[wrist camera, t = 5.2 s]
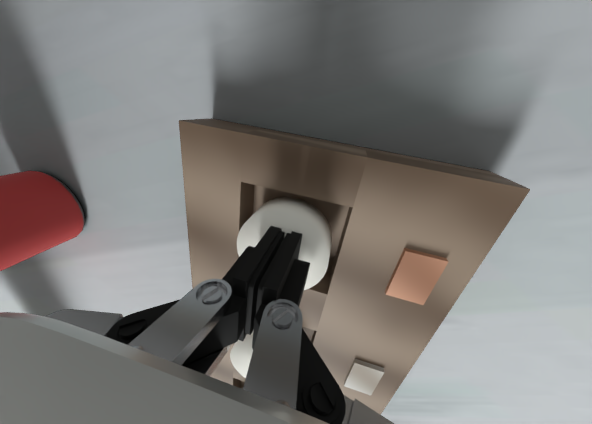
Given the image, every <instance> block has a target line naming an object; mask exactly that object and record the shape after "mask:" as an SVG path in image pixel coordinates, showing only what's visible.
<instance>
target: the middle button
mask: <svg viewBox="0 0 592 424" xmlns="http://www.w3.org/2000/svg"><path fill="white" fill-rule="evenodd" d="M253 330H254V329H253ZM252 340H253V332H252V333H251V335H249V334H247V335H246V337H245V339H244V341H240V340H238V341H237V342H236V343H235V344H234V346H233V348H232V350H231V352H230V359H231V362H232V364H233V366H234V368H235V369H236V370H237V371H238V372H239V373H240V374H241V375H242V376H243V377H244V378H246V375H247V372H248V368H249V364H250V360H251V357H252V353H253V349H252Z"/></svg>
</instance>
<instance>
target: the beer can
mask: <svg viewBox="0 0 592 424" xmlns="http://www.w3.org/2000/svg"><path fill="white" fill-rule="evenodd" d="M84 223H85V219H84V212H83V210H82V207H81V205H80V203H79V201H78V200H77V198H76V197H75V195H74V194H73V193H72V192H71V191H70V190H69V189H68V187H67V186H66V185H64V184H63V183H62V182H60V181H59V180H58V179H56V178H54V177H52V176H50V175H48V174H46V173H43V172H37V171H25V172H19V173H14V174H8V175H3V176H0V271H2V270H4V269H6V268H8V267H10V266H13V265H15V264H17V263H19V262H21V261H24V260H26V259H28V258H30V257H32V256H35V255H37V254H39V253H41V252H43V251H46V250H48V249H50V248H52V247H54V246H57V245H59V244H61V243H63V242H65V241H68V240H70V239H72V238H74V237H76V236H77V235H78V234H79V233H80V232H81V231H82V230H83V227H84Z"/></svg>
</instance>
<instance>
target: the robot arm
mask: <svg viewBox="0 0 592 424" xmlns="http://www.w3.org/2000/svg"><path fill="white" fill-rule="evenodd" d="M284 234H285V232H282V229H281V228H278V227H274V226H270V227H269V229H268V230H267V231H266V233H265V234H264V236H263V237H262V238H261V240H260V241H259V242H258V244H257V245H256V246H255V247H252V246H248V247H247V248H246V249H245V250H244V252H243V253H242V254H241V256H240V257H239V258H238V259H237V261H236V262H235V263H234V264H233V266H232V267H231V268H230V270H229V271H228V272H227V273H226V275H225V276H224V277H223V278H222V280H221V279H208V280H205V281H203V282H201V283H199V284H198V285H197V286H195V287H194V288H193V289H192V290H191V291H190V292H188V293H187V294H186V295H185V296H184V297H183V298H182V299H180V300H177V301H174V302H170V303H167V304H163V305H160V306H157V307H153V308H150V309H146V310H143V311H140V312H136V313H133V314H130V315H128V316H126V317H123V316H122V314H116V313H106V312H95V311H85V310H74V309H66V310H60V311H57V312H53V313H51V314H49V315H47V316H40V315H35V314H28V313H12V312H3V313H0V424H394V423H392V422H391V421H389V420H388V419H386V418H385V417H383V416H382V415H380V414H378V413H377V412H375V411H374V410H372V409H371V408H369V407H368V406H366V405H365V404H363V403H361V402H360V401H358V400H357V399H354V401H353V400H351V399H350V398H348V397H347V396H345V395H344V394H343V393H342V391H341V389H340V387H339V385H338V383H337V382H336V380H335V379H334V377H333V376H332V374H331V372H330V371H329V369H328V368H327V366H326V364H325V363H324V361H323V360H322V358H321V357H320V355H319V353H318V352H317V350H316V349H315V347H314V346H313V344H312V342H311V341H310V339H309V338H308V336H307V335H306V333H305V331H304V330H303V328H302V321H303V317H302V312H301V310H300V308H299V305H300V302H301V298H302V295H303V291H304V288H305V284H306V280H307V276H308V271H309V267H310V263H309V262H306V261H302V260H298V256H299V251H300V246H301V240H302V234H301V233H297V232H293V231H292V232H291V234H290V233H287V234H286V236H285V238H284ZM253 329H254V330H253ZM252 332H253V340H252V349H253V353H252V357H251V360H250V364H249V368H248V372H247V375H246V379H245V383H244V387H243V389H241V388H238V387H236V386H233V385H231V384H228V383H226V382H223V381H220V380H218V379H215V378H213V377H210V376H211V374H212V373H213V371H214V370H215V369H216V367H217V366H218V364H219V363H220V361H221V360H222V359H223V357H224V356H225V354H226V353H227V351H228V349H229V348H230V345H231V344H233V343H236V342H237V341H238V340H240V341H244V339H245V337H246V335H247V334H249V335H251V333H252Z"/></svg>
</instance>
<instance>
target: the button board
mask: <svg viewBox="0 0 592 424" xmlns="http://www.w3.org/2000/svg"><path fill="white" fill-rule="evenodd" d="M179 128H180V141H181V153H182V165H183V177H184V190H185V202H186V214H187V226H188V238H189V251H190V263H191V275H192V287H193V288H194V287H195V286H197V285H198V284H199V283H201V282H203V281H205V280H208V279H221V280H222V278H223V277H224V276H225V275H226V273H227V272H228V271H229V270H230V268H231V267H232V266H233V264H234V263H235V262H236V261H237V259H238V258H239V255H238V251H237V237H238V233H239V231H240V229H241V227H242V226H243V224H244V223H245V222H246V221H247V220H248V219H249V218H250V217H251V216H252V215H253V214H254V213H255V212H256V211H257V210H258V209H259V208H260V207H261V206H262V205H263V204H264V203H266V202H268V201H269V200H272V199H275V198H279V197H293V198H298V199H301V200H304V201H306V202H308V203H310V204H312V205H313V206H315V207H316V208H317V209H318V210H319V211H320V212H321V213H322V214H323V215H324V216H325V218H326V219H327V221H328V223H329V225H330V228H331V232H332V245H331V251H330V257H329V263H328V268H327V271H326V273H325V275H324V277H323V278H322V279H321V280H320V281H319V282H318V283H317V284H316V285H314V286H313V287H311V288H309V289H306V290H304V291H303V295H302V298H301V302H300V305H299V308H300V310H301V312H302V317H303V321H302V328H303V330H304V331H305V333H306V335H307V336H308V338H309V339H310V341H311V342H312V344H313V346H314V347H315V349H316V350H317V352H318V353H319V355H320V357H321V358H322V360H323V361H324V363H325V364H326V366H327V368H328V369H329V371H330V372H331V374H332V376H333V377H334V379H335V380H336V382H337V383H338V385H339V387H340V389H341V391H342V393H343V394H344V395H345V396H347V397H348V398H350V399H351V400H353V401H354V399H357V400H358V401H360V402H361V403H363V404H365V405H366V406H368V407H369V408H371V409H372V410H374V411H375V412H377V413H378V414H380V415H381V413H382V412H383V410H384V409H385V407H386V406H387V404H388V403H389V401H390V400H391V398H392V397H393V395H394V394H395V392H396V391H397V389H398V388H399V386H400V385H401V383H402V382H403V380H404V379H405V377H406V376H407V374H408V372H409V371H410V369H411V368H412V366H413V365H414V363H415V362H416V360H417V359H418V357H419V356H420V354H421V353H422V351H423V350H424V348H425V347H426V345H427V344H428V342H429V341H430V339H431V338H432V336H433V335H434V333H435V332H436V330H437V329H438V327H439V326H440V324H441V323H442V321H443V320H444V318H445V317H446V315H447V314H448V312H449V311H450V309H451V308H452V306H453V305H454V303H455V302H456V300H457V299H458V297H459V296H460V294H461V293H462V291H463V290H464V288H465V287H466V285H467V284H468V282H469V281H470V279H471V278H472V276H473V275H474V273H475V272H476V270H477V269H478V267H479V266H480V264H481V263H482V261H483V260H484V258H485V257H486V255H487V254H488V252H489V251H490V249H491V248H492V246H493V245H494V243H495V242H496V240H497V239H498V237H499V236H500V234H501V233H502V231H503V230H504V228H505V227H506V225H507V224H508V222H509V221H510V219H511V218H512V216H513V215H514V213H515V212H516V210H517V209H518V207H519V206H520V204H521V203H522V201H523V200H524V198H525V197H526V195H527V194H528V192H529V191H530V189H528V188H526V187H524V186H522V185H519V184H517V183H515V182H513V181H510V180H508V179H506V178H504V177H501V176H499V175H497V174H495V173H493V172H490V171H486V170H480V169H475V168H470V167H465V166H459V165H454V164H449V163H444V162H438V161H433V160H428V159H422V158H417V157H412V156H407V155H401V154H396V153H391V152H386V151H380V150H375V149H370V148H365V147H359V146H354V145H349V144H344V143H338V142H333V141H328V140H323V139H317V138H312V137H307V136H301V135H296V134H291V133H286V132H280V131H275V130H270V129H265V128H259V127H254V126H249V125H244V124H238V123H233V122H228V121H223V120H217V119H195V120H179ZM234 344H235V343H233V344H231V345H230V348H229V349H228V351H227V353H226V354H225V356H224V357H223V359H222V360H221V361H220V363H219V364H218V366H217V367H216V369H215V370H214V371H213V373H212V374H211V376H210V377H213V378H215V379H218V380H220V381H223V382H226V383H228V384H231V385H233V386H236V387H238V388H242V387H244V383H245V379H246V378H244V377H243V376H242V375H241V374H240V373H239V372H238V371H237V370H236V369H235V368H234V366H233V364H232V362H231V359H230V352H231V350H232V348H233V346H234Z"/></svg>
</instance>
